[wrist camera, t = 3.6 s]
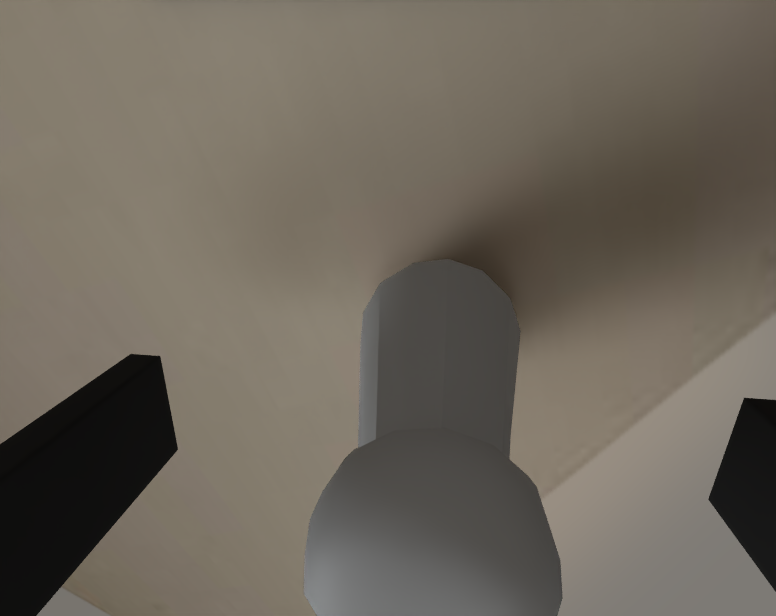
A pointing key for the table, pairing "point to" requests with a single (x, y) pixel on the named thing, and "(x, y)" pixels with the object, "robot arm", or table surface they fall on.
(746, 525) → the robot arm
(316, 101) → the table surface
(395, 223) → the table surface
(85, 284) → the table surface
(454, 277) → the salt shaker
